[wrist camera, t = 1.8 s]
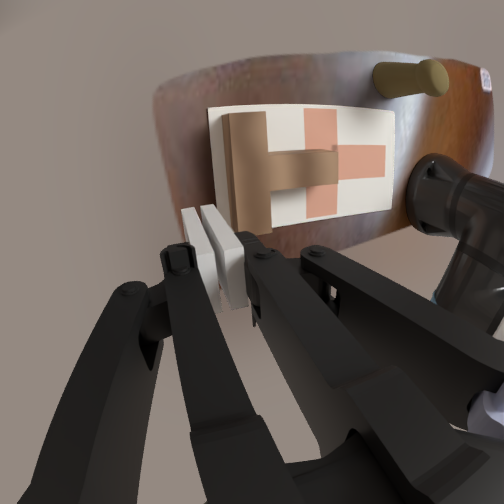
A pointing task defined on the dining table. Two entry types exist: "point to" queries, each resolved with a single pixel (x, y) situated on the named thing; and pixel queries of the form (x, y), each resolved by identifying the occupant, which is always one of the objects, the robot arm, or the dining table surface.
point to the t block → (265, 170)
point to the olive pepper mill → (410, 78)
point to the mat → (319, 137)
